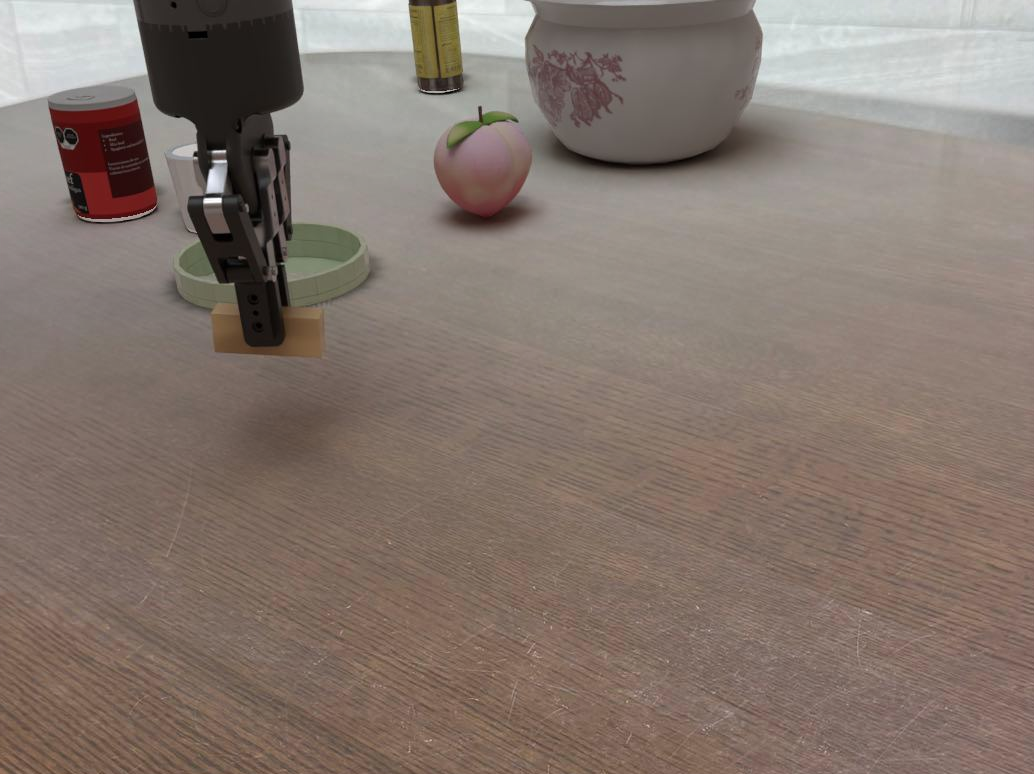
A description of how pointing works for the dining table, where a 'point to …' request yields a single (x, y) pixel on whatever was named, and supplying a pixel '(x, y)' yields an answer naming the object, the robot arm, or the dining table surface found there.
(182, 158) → the white cup
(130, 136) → the canned food
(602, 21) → the chamber pot
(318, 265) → the bowl
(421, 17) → the sauce bottle
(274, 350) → the block
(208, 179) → the robot arm
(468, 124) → the decorative fruit
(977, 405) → the dining table surface
